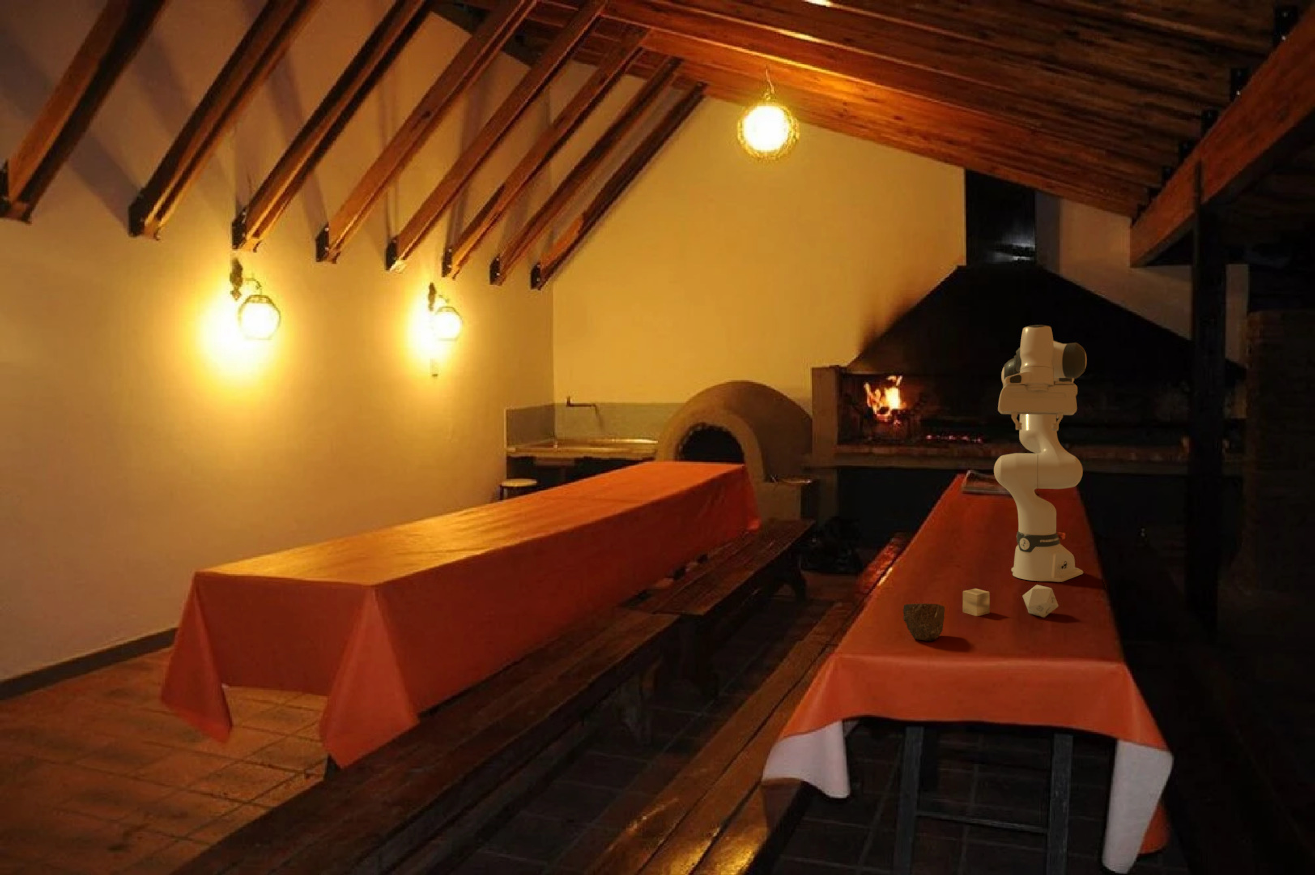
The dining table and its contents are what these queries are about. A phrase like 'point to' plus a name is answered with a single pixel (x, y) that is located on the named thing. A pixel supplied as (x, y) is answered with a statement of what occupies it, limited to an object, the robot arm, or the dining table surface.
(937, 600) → the dining table surface
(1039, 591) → the die
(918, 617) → the rock
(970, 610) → the beech block
